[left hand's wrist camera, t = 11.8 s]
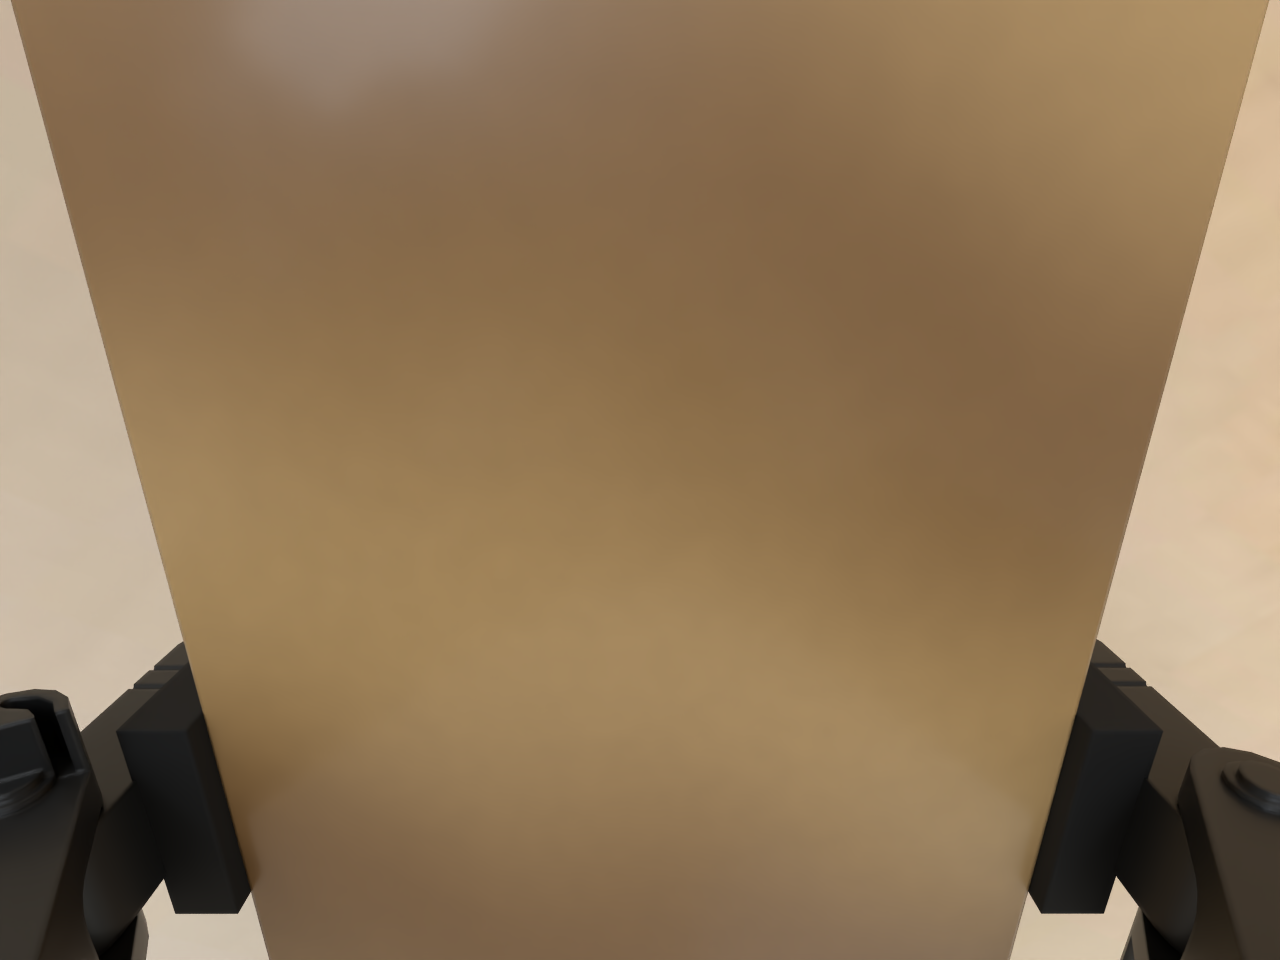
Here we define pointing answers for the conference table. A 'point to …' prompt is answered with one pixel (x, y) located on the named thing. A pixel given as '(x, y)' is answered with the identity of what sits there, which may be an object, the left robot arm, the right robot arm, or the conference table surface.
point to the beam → (639, 438)
